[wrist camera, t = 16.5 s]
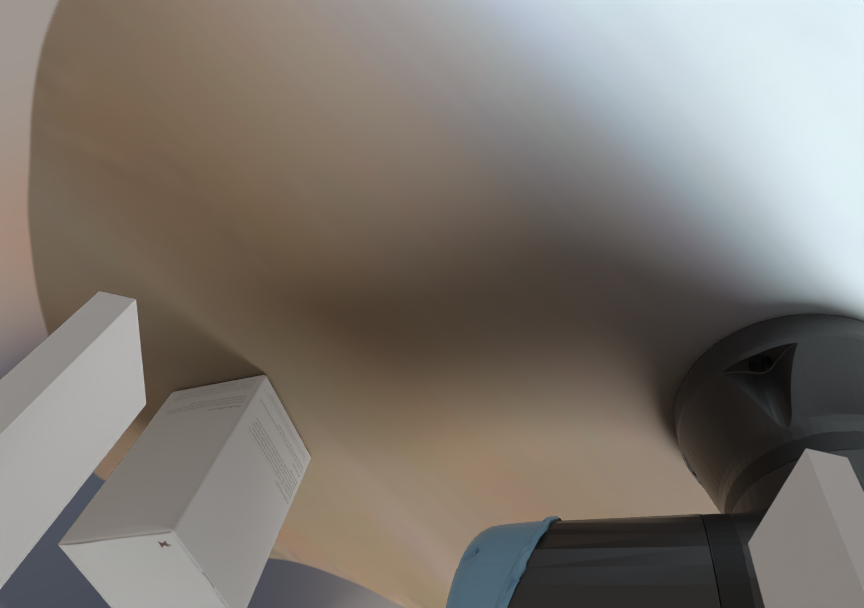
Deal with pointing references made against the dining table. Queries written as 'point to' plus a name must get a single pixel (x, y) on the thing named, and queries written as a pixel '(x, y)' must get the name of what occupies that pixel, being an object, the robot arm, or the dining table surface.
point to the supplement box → (193, 501)
